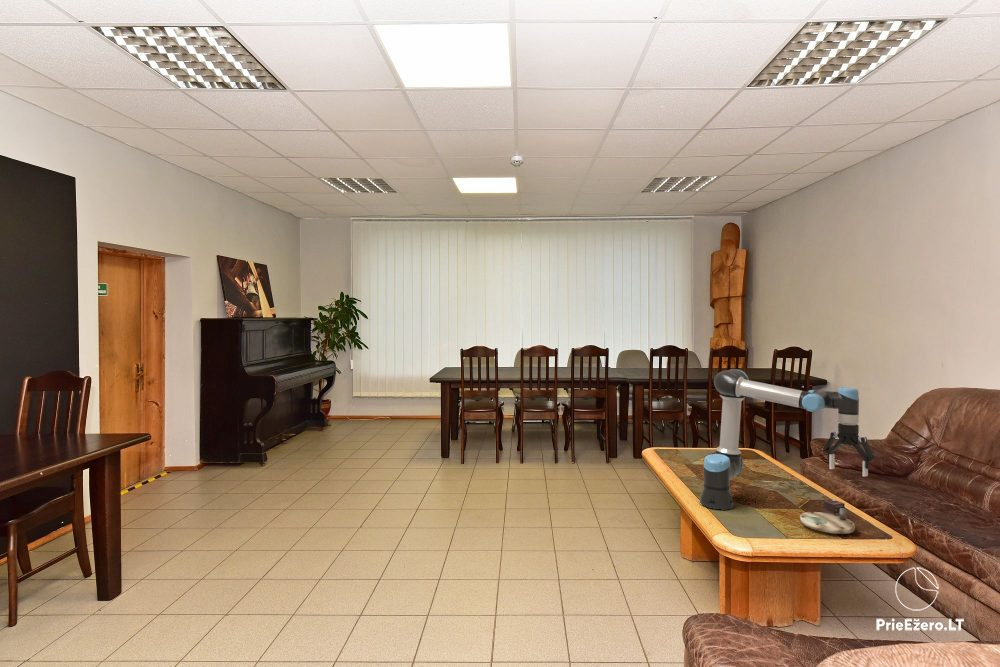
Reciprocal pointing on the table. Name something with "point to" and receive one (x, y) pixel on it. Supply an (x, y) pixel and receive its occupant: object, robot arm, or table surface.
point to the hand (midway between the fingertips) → (848, 472)
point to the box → (832, 507)
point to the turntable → (828, 522)
